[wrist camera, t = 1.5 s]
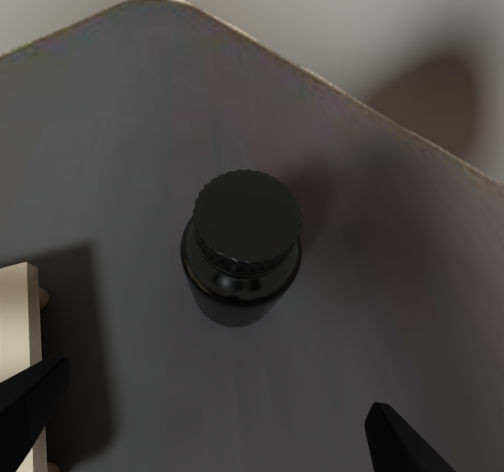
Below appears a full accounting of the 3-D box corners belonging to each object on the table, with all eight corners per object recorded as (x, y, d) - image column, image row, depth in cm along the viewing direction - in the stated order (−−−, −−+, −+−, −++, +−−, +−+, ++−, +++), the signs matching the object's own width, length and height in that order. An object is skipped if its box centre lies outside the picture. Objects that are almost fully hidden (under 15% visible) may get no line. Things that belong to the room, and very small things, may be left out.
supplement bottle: (257, 239, 24) (291, 140, 13) (286, 311, 22) (357, 260, 11) (183, 260, 22) (153, 166, 12) (205, 341, 20) (193, 316, 9)
